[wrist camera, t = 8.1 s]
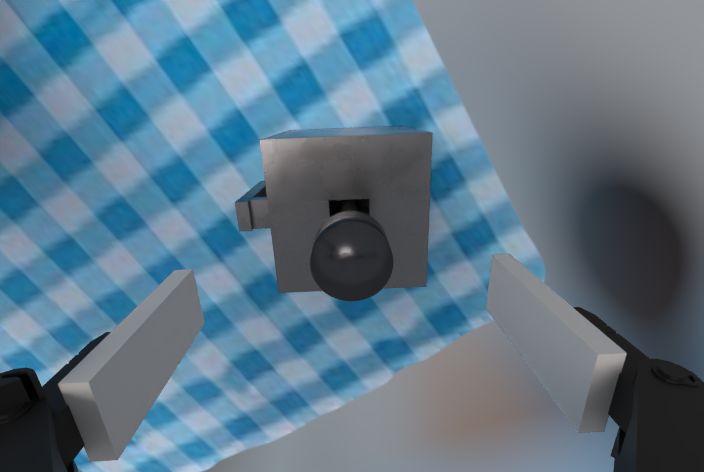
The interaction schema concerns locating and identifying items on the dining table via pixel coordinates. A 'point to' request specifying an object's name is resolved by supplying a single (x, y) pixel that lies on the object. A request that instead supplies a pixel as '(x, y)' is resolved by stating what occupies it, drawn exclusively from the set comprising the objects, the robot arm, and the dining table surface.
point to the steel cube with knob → (342, 195)
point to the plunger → (351, 252)
